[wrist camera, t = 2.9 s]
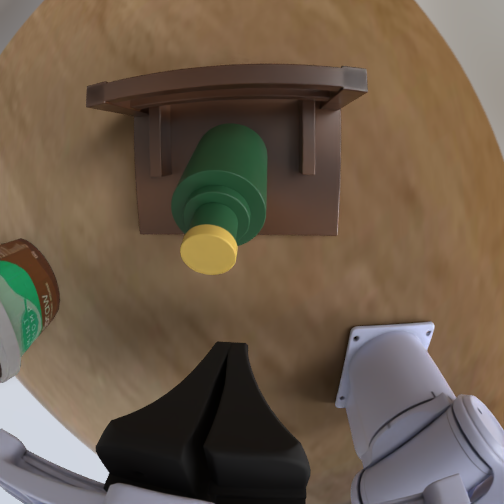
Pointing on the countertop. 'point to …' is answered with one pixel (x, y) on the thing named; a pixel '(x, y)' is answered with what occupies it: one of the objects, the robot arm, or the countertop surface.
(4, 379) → the food container
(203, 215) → the bottle
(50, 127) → the countertop surface
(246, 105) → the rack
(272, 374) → the countertop surface
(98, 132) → the countertop surface
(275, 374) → the countertop surface
